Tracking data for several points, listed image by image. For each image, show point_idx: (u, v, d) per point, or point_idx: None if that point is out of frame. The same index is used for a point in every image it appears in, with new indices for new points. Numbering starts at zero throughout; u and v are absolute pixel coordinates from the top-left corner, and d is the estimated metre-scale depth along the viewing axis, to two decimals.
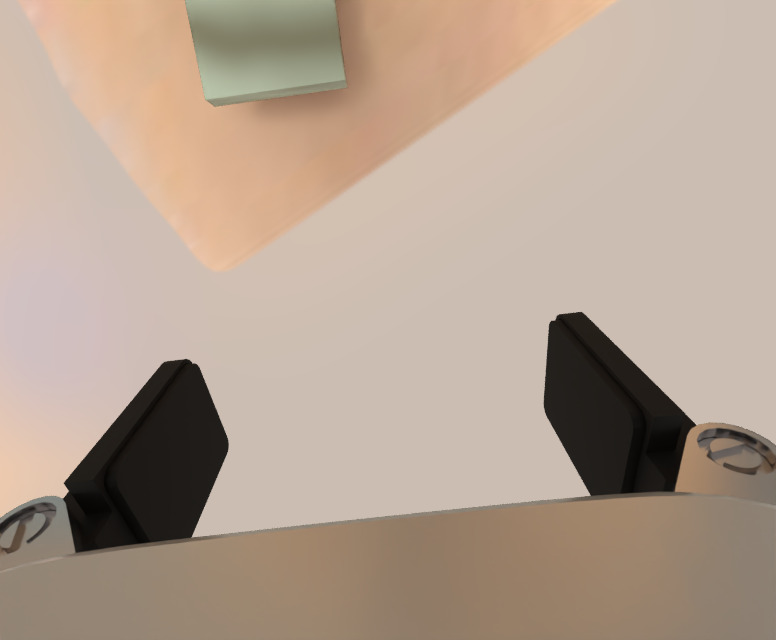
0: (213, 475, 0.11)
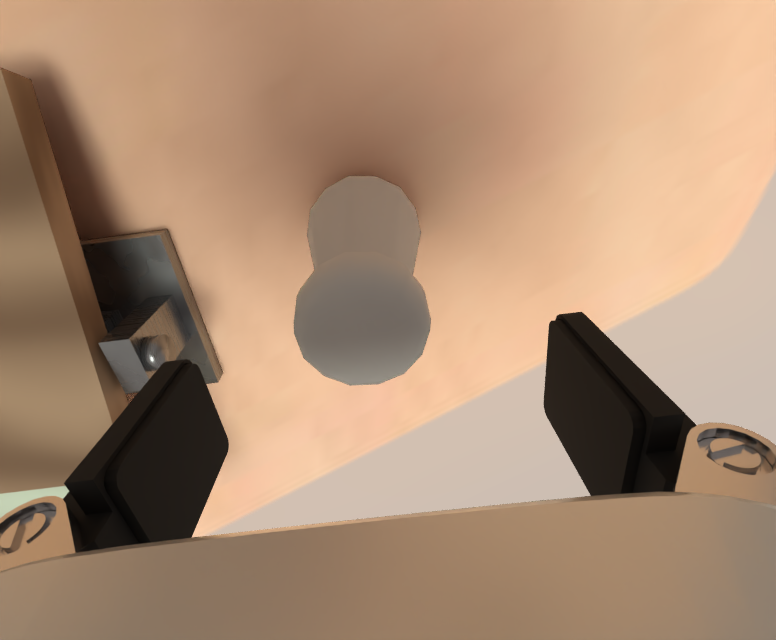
0: (213, 475, 0.11)
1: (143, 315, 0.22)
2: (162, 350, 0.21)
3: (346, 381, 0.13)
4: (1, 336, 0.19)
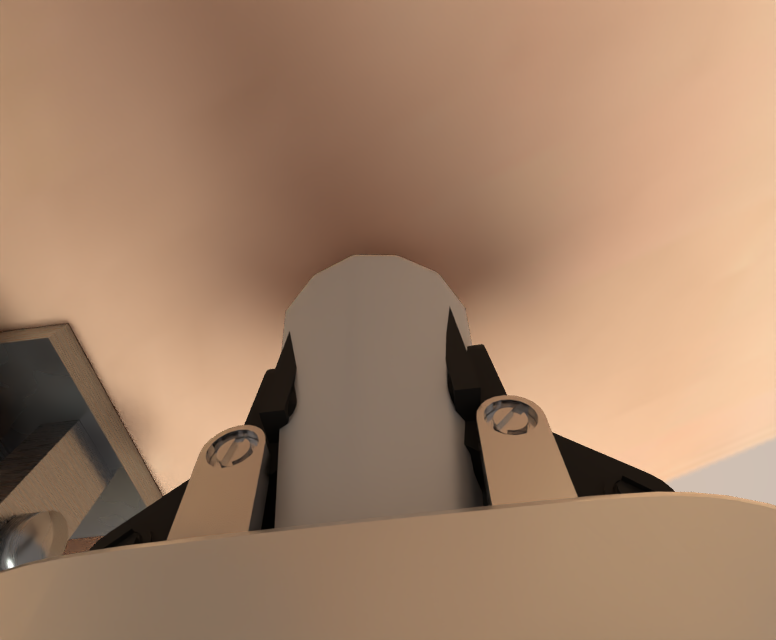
0: None
1: (14, 473, 0.13)
2: (33, 546, 0.12)
3: None
4: None
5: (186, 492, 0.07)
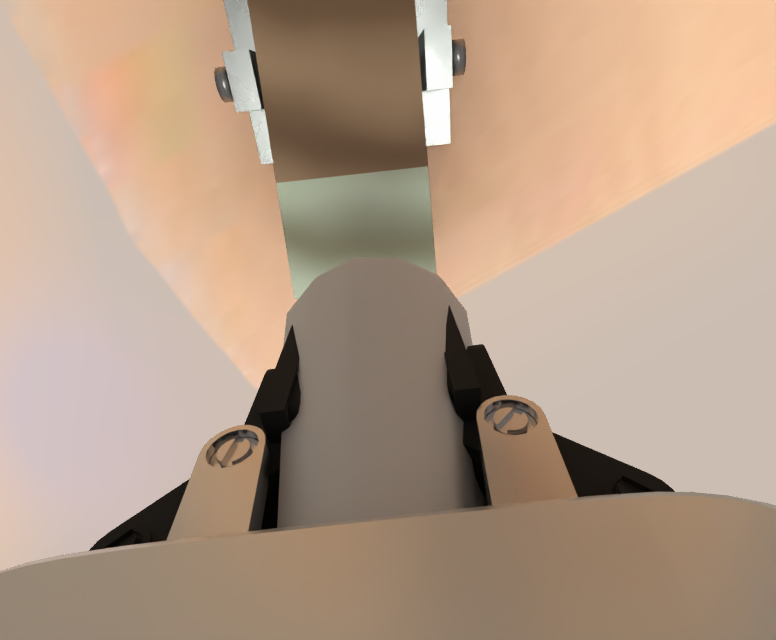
0: None
1: None
2: None
3: None
4: (345, 17, 0.22)
5: (185, 492, 0.07)
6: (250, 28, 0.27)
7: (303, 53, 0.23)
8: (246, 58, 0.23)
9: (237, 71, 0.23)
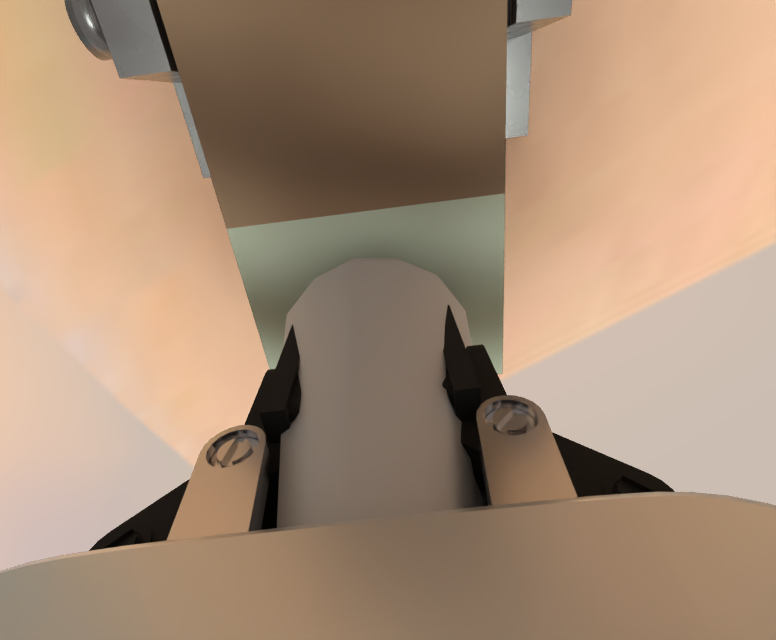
0: None
1: None
2: None
3: None
4: None
5: (185, 492, 0.07)
6: None
7: None
8: None
9: None
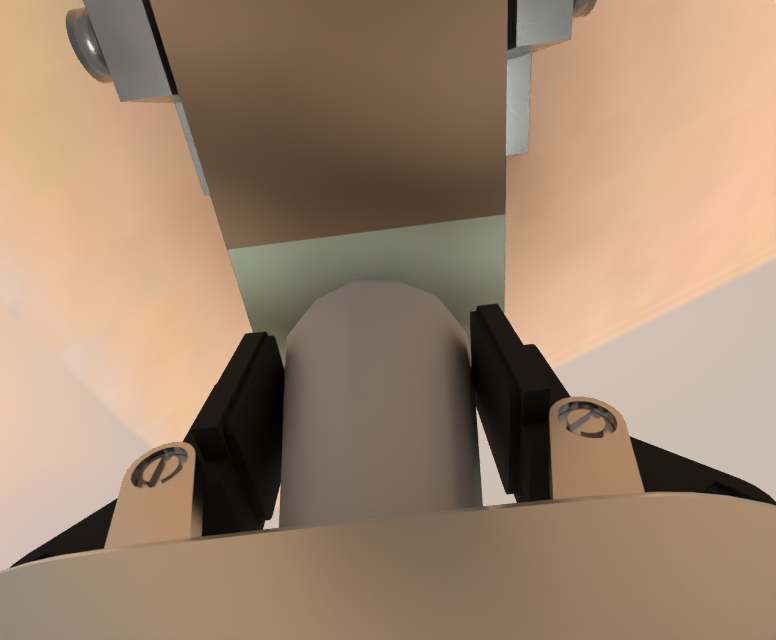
0: None
1: None
2: None
3: None
4: None
5: (113, 518, 0.06)
6: None
7: None
8: None
9: (111, 12, 0.11)
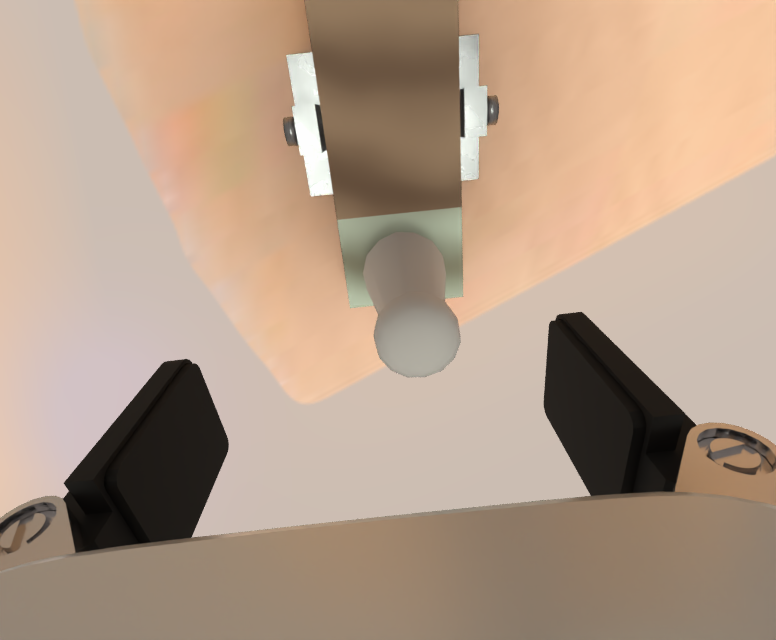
0: (213, 475, 0.11)
1: None
2: None
3: (406, 374, 0.20)
4: (398, 83, 0.26)
5: None
6: (308, 81, 0.31)
7: (362, 113, 0.27)
8: (312, 111, 0.27)
9: (303, 121, 0.27)
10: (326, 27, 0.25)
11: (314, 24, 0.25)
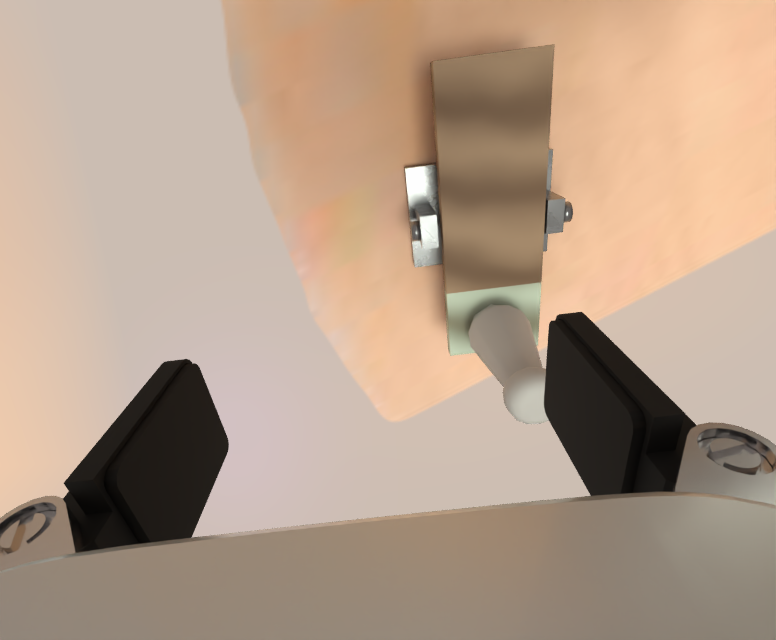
0: (213, 475, 0.11)
1: (548, 193, 0.38)
2: None
3: (527, 422, 0.30)
4: (501, 200, 0.35)
5: None
6: (420, 186, 0.40)
7: (472, 221, 0.36)
8: (434, 219, 0.36)
9: (427, 227, 0.37)
10: (452, 166, 0.34)
11: (443, 165, 0.34)
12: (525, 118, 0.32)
